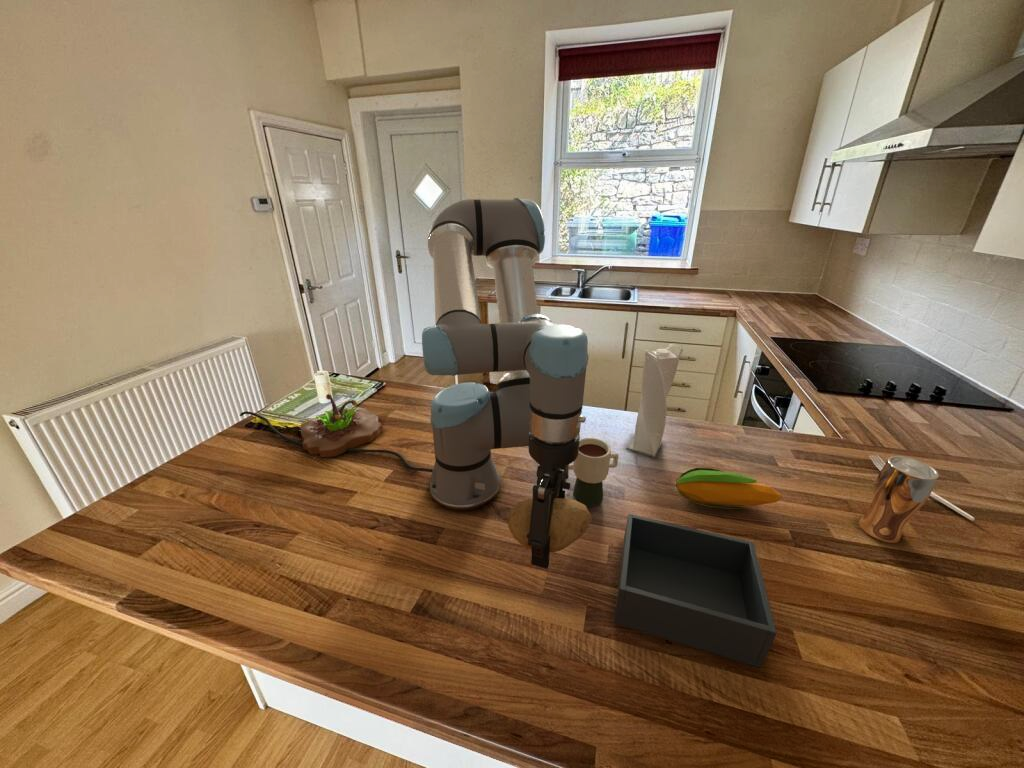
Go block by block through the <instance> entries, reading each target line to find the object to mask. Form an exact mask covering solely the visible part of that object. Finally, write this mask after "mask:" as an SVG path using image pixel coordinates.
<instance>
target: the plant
mask: <svg viewBox="0 0 1024 768" xmlns="http://www.w3.org/2000/svg"><path fill="white" fill-rule="evenodd" d="M325 399H327V400H330V404H331V411H328V410H325V411H324V413H321V414H319V415H317V414H316V415H315V417H314V418H311V419H309V420H306V421H305V422H303V423H301V424H300V426H299V430H300V436H301V439H302V445H301V446H302V449H303V450H304V451H308V454H309V455H311V456H312V455H313V456H314V455H319V456H320V458H333V457H334V458H335V457H338V456H340V455H342V454H344V453H346V452H347V451H346V449H347V448H352V449H355V448H356V447H359V446H362V445H364V444H369V443H371V442H373V441H374V440H375V439H376V438H378V437H379V436H380V434H381V433H382V432H383V431H384V428H383V424H382V423H381V422H380V419H379V418H380V417H379V416H378V415H376V414H374V413H372V412H370V411H369V410H367V409H365V408H363V407H359V406H358V401H357V400H353V399H351V400H347V401H345V402H344V403H343V404H342V406H341V407H340V406H337V404H336V402H335V399H334V397H333V395H332V394H331V393H327V394H326V395H325ZM348 404H351V405H352V406H354V407H346V406H347V405H348Z"/></svg>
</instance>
